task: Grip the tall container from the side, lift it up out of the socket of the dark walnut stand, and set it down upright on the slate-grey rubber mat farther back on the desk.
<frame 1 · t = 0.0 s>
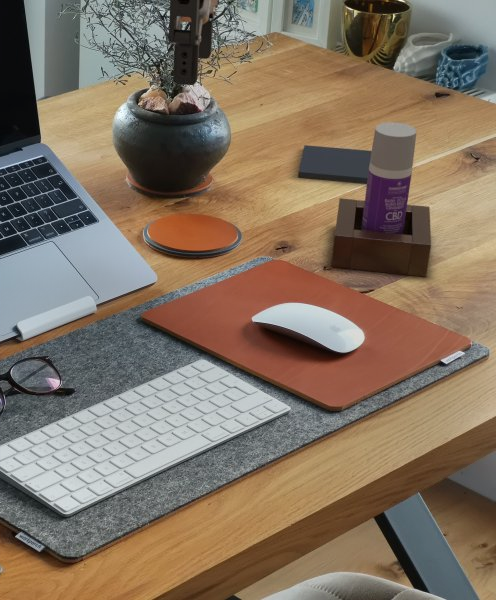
hand: (192, 69, 108), 25 cm above the table, tool pointing down, fingers open, 8 cm apart
stand: (379, 251, 129), on the table
mat: (338, 166, 152), on the table
container: (378, 253, 129), resting in stand
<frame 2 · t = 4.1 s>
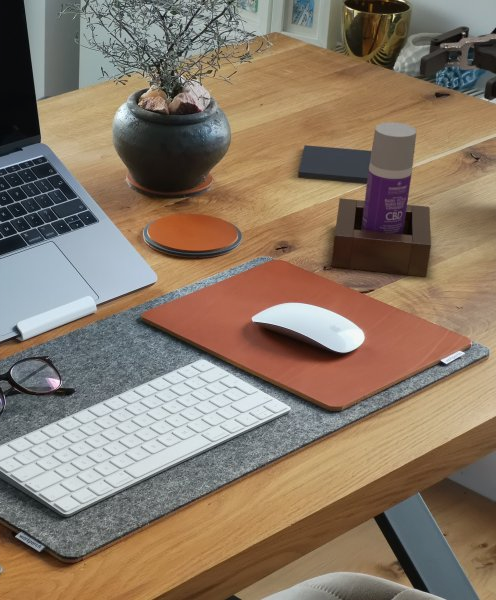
hand: (454, 79, 122), 20 cm above the table, tool horizontal, fingers open, 8 cm apart
nothing on the table moved.
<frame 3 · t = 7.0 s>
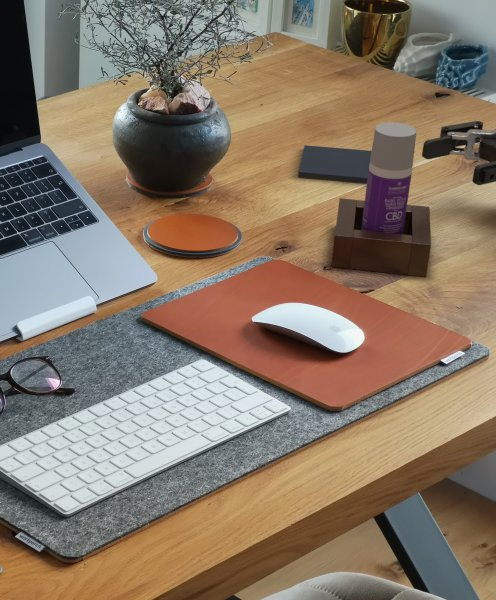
hand: (449, 162, 128), 9 cm above the table, tool horizontal, fingers open, 8 cm apart
nothing on the table moved.
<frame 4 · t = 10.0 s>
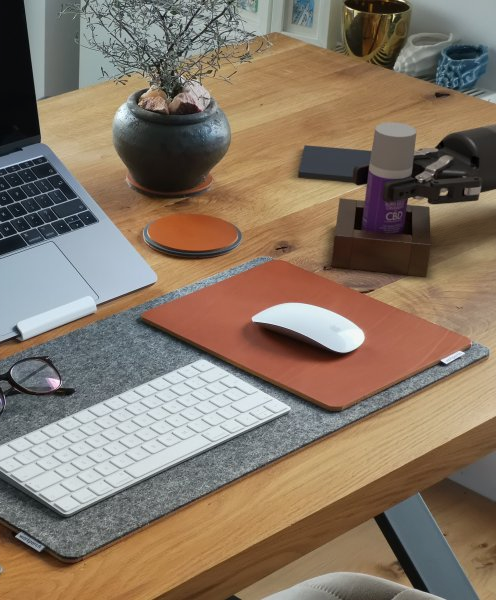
hand: (370, 184, 124), 9 cm above the table, tool horizontal, fingers closed on container, 4 cm apart
container: (379, 253, 129), resting in stand, touching gripper
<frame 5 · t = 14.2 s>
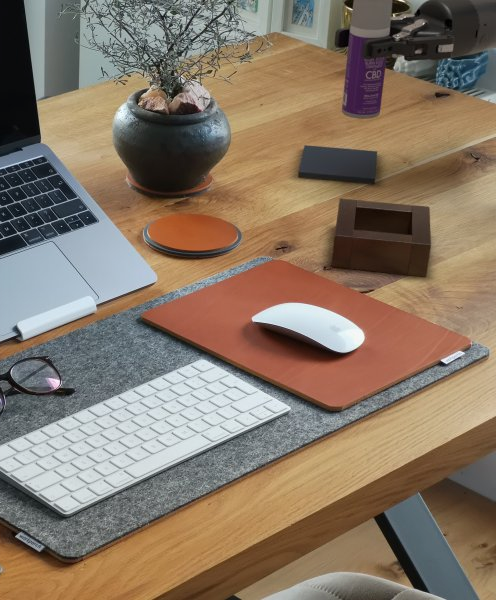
hand: (350, 44, 133), 20 cm above the table, tool horizontal, fingers closed on container, 4 cm apart
container: (360, 113, 139), point 11 cm above the table, touching gripper
when the fingers open (10 cm above the table, at t = 18.5 s): container stays where it is, resting on mat.
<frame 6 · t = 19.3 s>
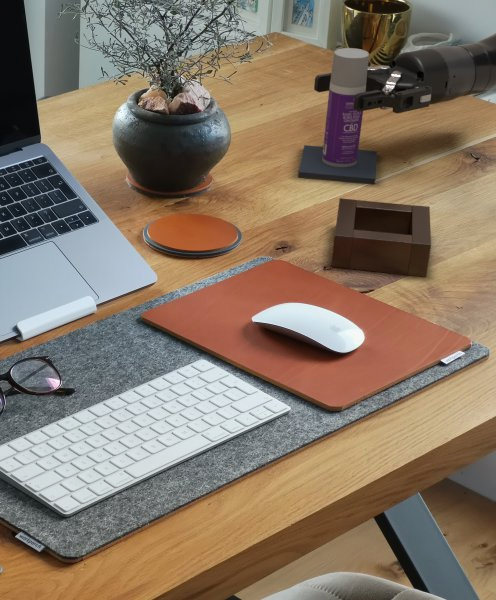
hand: (335, 93, 146), 11 cm above the table, tool horizontal, fingers open, 8 cm apart
container: (339, 162, 151), point 1 cm above the table, touching mat
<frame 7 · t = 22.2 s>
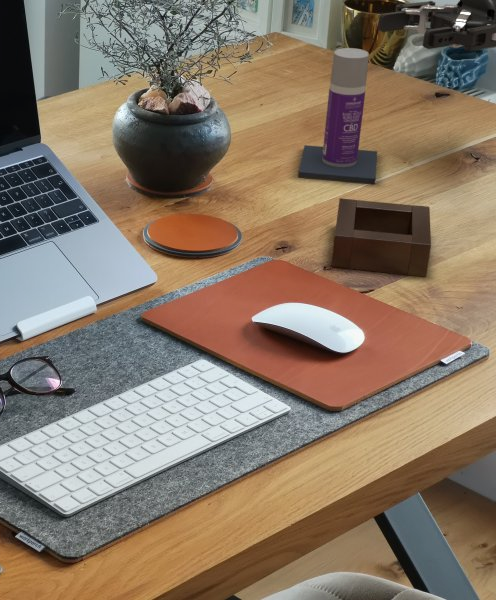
hand: (402, 31, 138), 20 cm above the table, tool horizontal, fingers open, 8 cm apart
nothing on the table moved.
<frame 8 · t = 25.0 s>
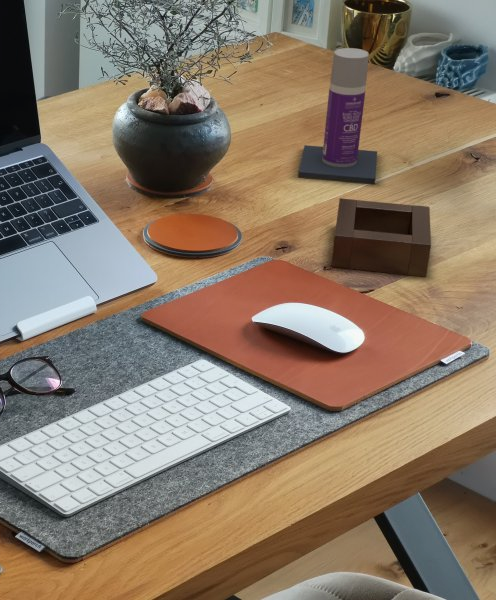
nothing on the table moved.
at the end: container inside the target area on the mat (0.1 cm from its centre), point 0.6 cm above the mat's base; container tilted 0°; container touching mat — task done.
